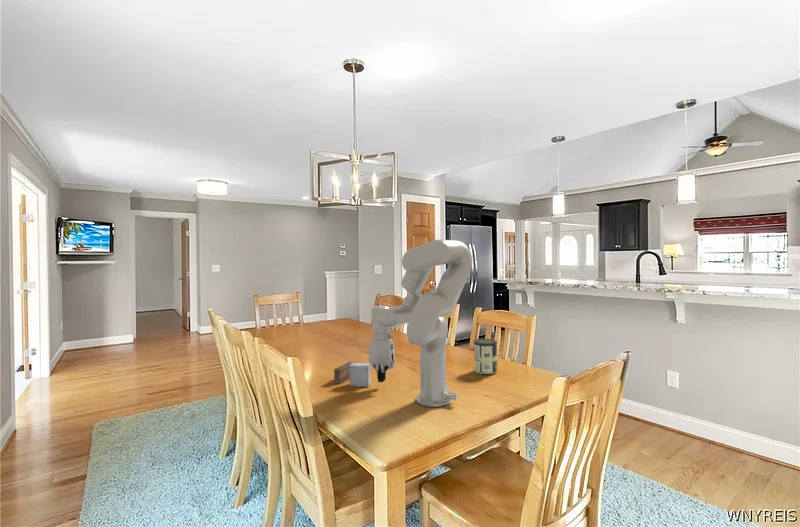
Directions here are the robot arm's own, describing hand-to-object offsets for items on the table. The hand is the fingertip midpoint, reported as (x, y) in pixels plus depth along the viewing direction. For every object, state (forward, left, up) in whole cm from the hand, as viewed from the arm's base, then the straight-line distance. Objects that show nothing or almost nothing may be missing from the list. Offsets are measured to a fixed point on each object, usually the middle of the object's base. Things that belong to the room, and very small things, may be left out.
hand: (381, 381), depth 159 cm
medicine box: (+10, 0, -3) cm, 10 cm away
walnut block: (+20, -4, -3) cm, 20 cm away
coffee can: (-34, -37, -3) cm, 50 cm away
